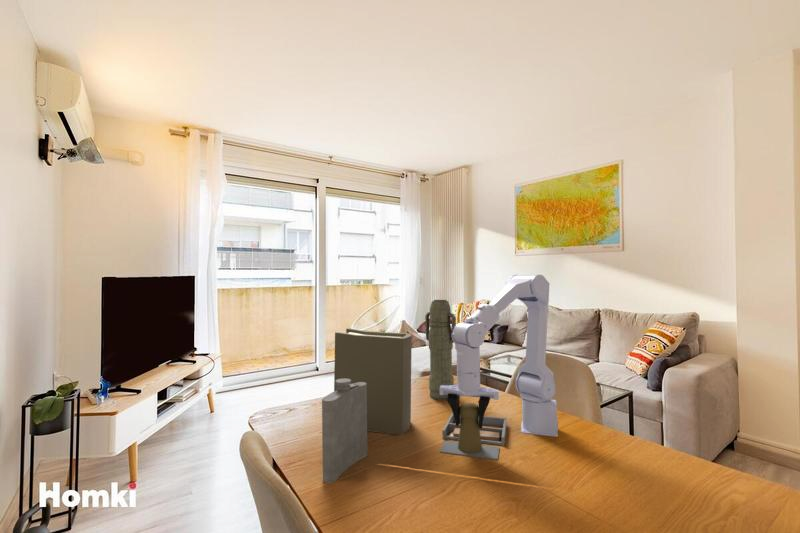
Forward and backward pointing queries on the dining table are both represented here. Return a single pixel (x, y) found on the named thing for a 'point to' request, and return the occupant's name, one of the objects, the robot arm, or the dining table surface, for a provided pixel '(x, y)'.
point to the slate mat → (486, 453)
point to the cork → (469, 429)
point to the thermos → (440, 346)
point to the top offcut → (482, 435)
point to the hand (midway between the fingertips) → (469, 425)
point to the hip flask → (343, 428)
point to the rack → (486, 420)
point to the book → (378, 375)
